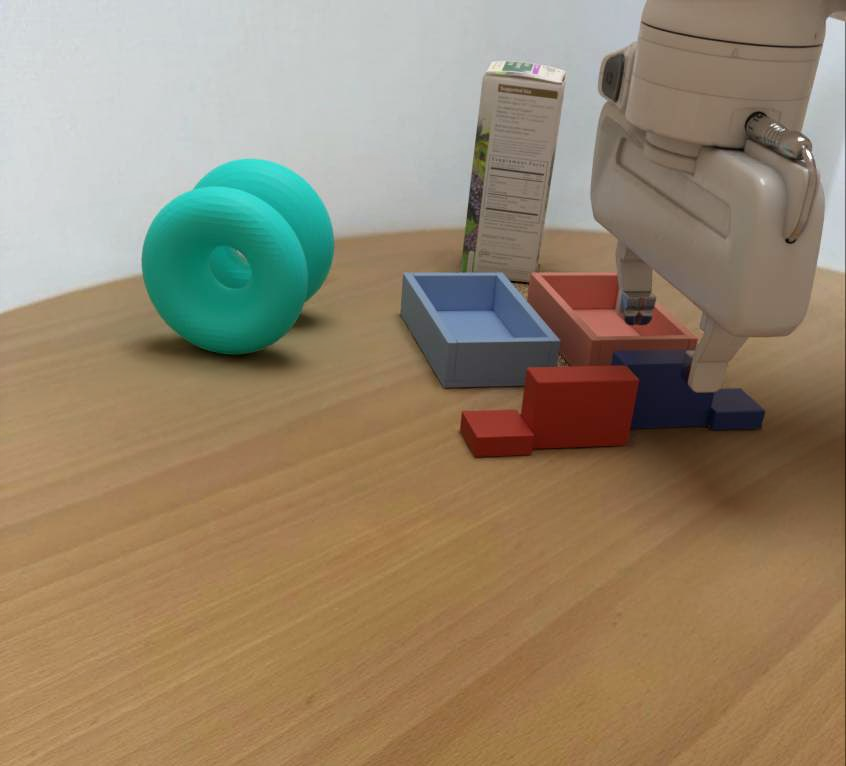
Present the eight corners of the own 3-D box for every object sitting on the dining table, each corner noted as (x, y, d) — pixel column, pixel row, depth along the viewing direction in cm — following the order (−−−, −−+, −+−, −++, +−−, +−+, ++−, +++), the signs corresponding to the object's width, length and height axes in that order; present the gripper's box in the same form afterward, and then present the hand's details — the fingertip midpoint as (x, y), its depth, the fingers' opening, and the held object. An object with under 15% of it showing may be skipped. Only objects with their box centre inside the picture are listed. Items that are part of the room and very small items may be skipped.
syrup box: (467, 253, 91) (486, 57, 84) (541, 262, 91) (567, 66, 83) (459, 276, 86) (479, 70, 79) (538, 285, 86) (565, 79, 78)
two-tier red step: (474, 457, 61) (482, 388, 59) (459, 430, 64) (466, 363, 62) (631, 450, 64) (644, 384, 61) (610, 425, 66) (622, 360, 64)
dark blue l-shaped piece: (736, 405, 70) (751, 343, 68) (761, 429, 67) (778, 365, 65) (598, 410, 68) (609, 346, 66) (618, 434, 65) (630, 369, 63)
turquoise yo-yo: (138, 349, 70) (129, 183, 65) (192, 295, 78) (188, 145, 73) (298, 372, 69) (302, 205, 64) (335, 315, 78) (341, 163, 72)
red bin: (617, 311, 82) (624, 271, 81) (689, 381, 72) (698, 338, 71) (525, 312, 81) (530, 272, 79) (585, 384, 71) (592, 340, 69)
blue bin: (497, 312, 80) (502, 272, 79) (554, 385, 70) (561, 340, 69) (400, 313, 79) (402, 272, 77) (443, 388, 69) (447, 342, 67)
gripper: (889, 147, 50) (806, 433, 57) (691, 60, 67) (646, 290, 74) (757, 142, 48) (690, 437, 56) (589, 54, 65) (554, 289, 72)
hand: (664, 352), depth 65 cm, fingers open, 8 cm apart
